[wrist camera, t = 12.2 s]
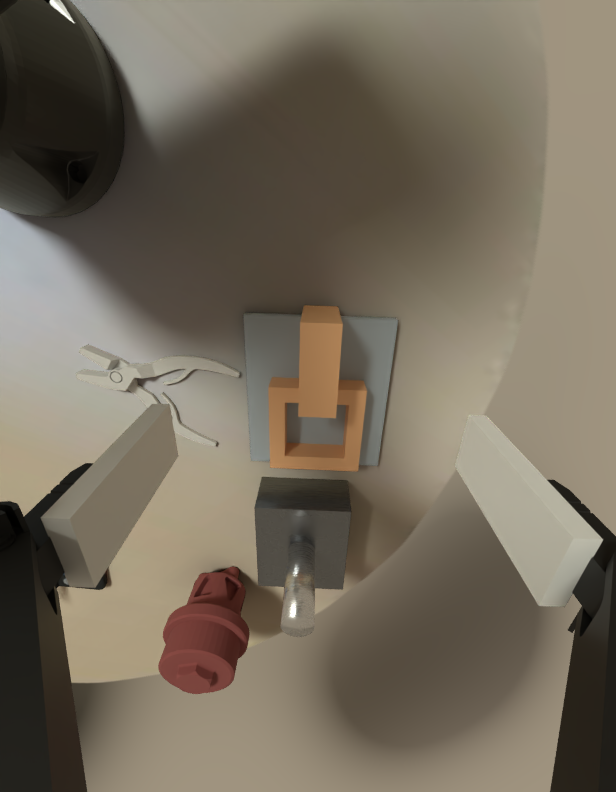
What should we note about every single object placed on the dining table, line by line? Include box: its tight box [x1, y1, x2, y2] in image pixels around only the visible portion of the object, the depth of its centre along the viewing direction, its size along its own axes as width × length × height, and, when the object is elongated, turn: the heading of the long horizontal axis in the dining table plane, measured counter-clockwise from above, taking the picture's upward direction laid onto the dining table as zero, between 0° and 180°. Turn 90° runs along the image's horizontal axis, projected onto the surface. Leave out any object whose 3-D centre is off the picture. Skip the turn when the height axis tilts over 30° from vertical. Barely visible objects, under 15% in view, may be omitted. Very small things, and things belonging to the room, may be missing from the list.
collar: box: [268, 305, 367, 471], centre depth 30 cm, size 16×9×7 cm, turn 178°
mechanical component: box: [158, 567, 249, 694], centre depth 41 cm, size 12×10×10 cm
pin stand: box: [255, 477, 351, 637], centre depth 36 cm, size 12×10×13 cm
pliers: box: [76, 344, 240, 446], centre depth 34 cm, size 10×2×15 cm
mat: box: [243, 313, 398, 466], centre depth 34 cm, size 16×14×1 cm
